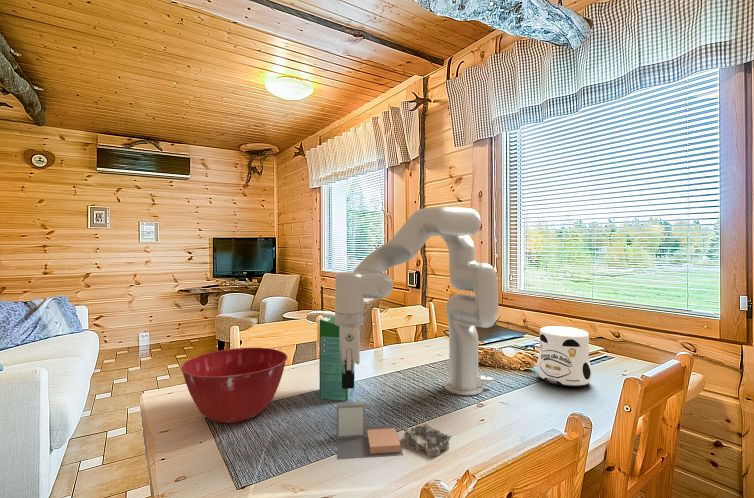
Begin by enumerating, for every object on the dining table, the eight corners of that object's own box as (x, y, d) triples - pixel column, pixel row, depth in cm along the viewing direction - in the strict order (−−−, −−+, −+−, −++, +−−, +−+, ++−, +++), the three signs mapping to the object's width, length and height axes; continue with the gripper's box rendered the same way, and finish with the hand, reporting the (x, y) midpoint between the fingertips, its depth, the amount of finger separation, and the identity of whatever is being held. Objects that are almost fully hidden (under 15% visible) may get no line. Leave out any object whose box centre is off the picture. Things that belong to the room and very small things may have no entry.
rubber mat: (393, 426, 102) (393, 424, 102) (403, 457, 87) (403, 455, 87) (336, 429, 100) (336, 427, 100) (337, 461, 85) (337, 459, 85)
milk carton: (347, 401, 118) (347, 320, 118) (319, 398, 120) (319, 319, 119) (354, 390, 127) (354, 315, 127) (328, 388, 129) (328, 314, 128)
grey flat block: (364, 433, 97) (364, 402, 96) (365, 437, 95) (365, 404, 95) (336, 435, 96) (336, 403, 96) (336, 438, 94) (336, 406, 94)
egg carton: (399, 444, 93) (399, 427, 93) (421, 434, 98) (421, 418, 98) (432, 463, 85) (432, 444, 85) (454, 451, 90) (454, 433, 90)
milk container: (541, 388, 128) (541, 335, 128) (533, 372, 145) (533, 324, 144) (598, 393, 124) (599, 338, 124) (583, 375, 141) (583, 326, 140)
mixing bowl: (187, 401, 118) (186, 351, 118) (281, 388, 128) (281, 342, 128) (174, 446, 92) (173, 382, 92) (294, 426, 102) (293, 368, 102)
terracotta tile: (394, 428, 96) (400, 444, 88) (394, 435, 96) (400, 452, 88) (367, 429, 95) (370, 446, 87) (367, 436, 95) (370, 454, 87)
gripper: (365, 324, 95) (364, 398, 95) (361, 313, 110) (360, 377, 110) (334, 324, 94) (333, 398, 94) (334, 313, 109) (333, 378, 109)
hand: (347, 387), depth 102 cm, fingers closed
